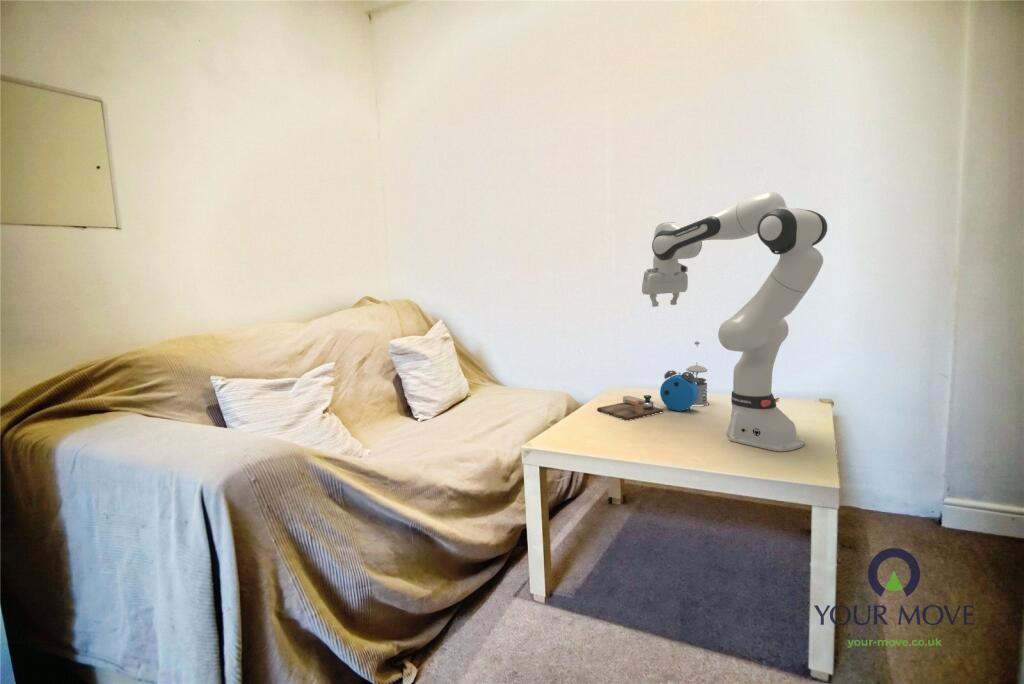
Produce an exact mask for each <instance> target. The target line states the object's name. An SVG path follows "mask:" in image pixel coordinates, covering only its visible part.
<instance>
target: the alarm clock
mask: <svg viewBox="0 0 1024 684" xmlns="http://www.w3.org/2000/svg"><path fill="white" fill-rule="evenodd" d="M663 377H664V381H663V383H662V385H661V386H660V391H659V394H660V398H661V400H662V402H663V404H664V405H665V406H666V407H667V408H668V409H670V410H671V411H672V410H673V411H675V410H676V412H681V411H682V412H683V411H686V410H687V409H690V410H691V407H693V406H692V405H693V404H695V402H696V401H697V399H698V396H699V390H698V387H697V384H696V382H694V380H695V377H696V376H695V375H694V374H693V372H689V371H685V372H683V373H681V372H677V371H675V370H667V372H665V374H664V376H663Z"/></svg>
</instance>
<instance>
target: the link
mask: <svg viewBox="0 0 1024 684" xmlns="http://www.w3.org/2000/svg"><path fill="white" fill-rule="evenodd" d="M628 398H634V399H637V400H641V401H644V405H643V408H644V409H652V408H654V407H655V406H654V401H651V399H652V395H650V394H649V395H648V394H645V395H643V398H644V399H641V398H638V397H635V396H631V395H625V396H622V403H623V402H625V399H628ZM629 404H630V403H629Z"/></svg>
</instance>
